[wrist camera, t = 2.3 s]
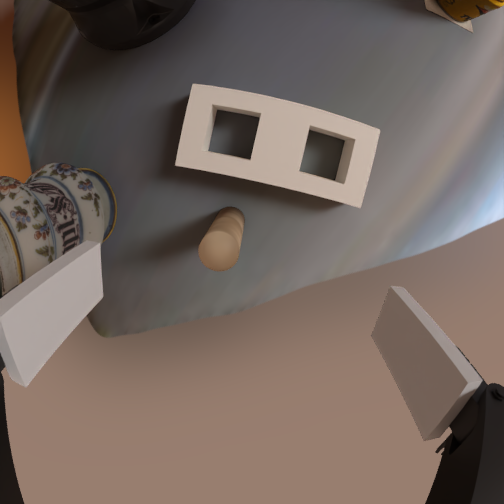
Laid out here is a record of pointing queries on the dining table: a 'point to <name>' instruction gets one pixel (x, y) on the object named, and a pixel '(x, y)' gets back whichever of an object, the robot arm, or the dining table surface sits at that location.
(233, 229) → the dowel
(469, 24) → the condiment
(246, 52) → the dining table surface
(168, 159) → the dining table surface
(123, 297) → the dining table surface
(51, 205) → the apothecary jar
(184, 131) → the hole block
